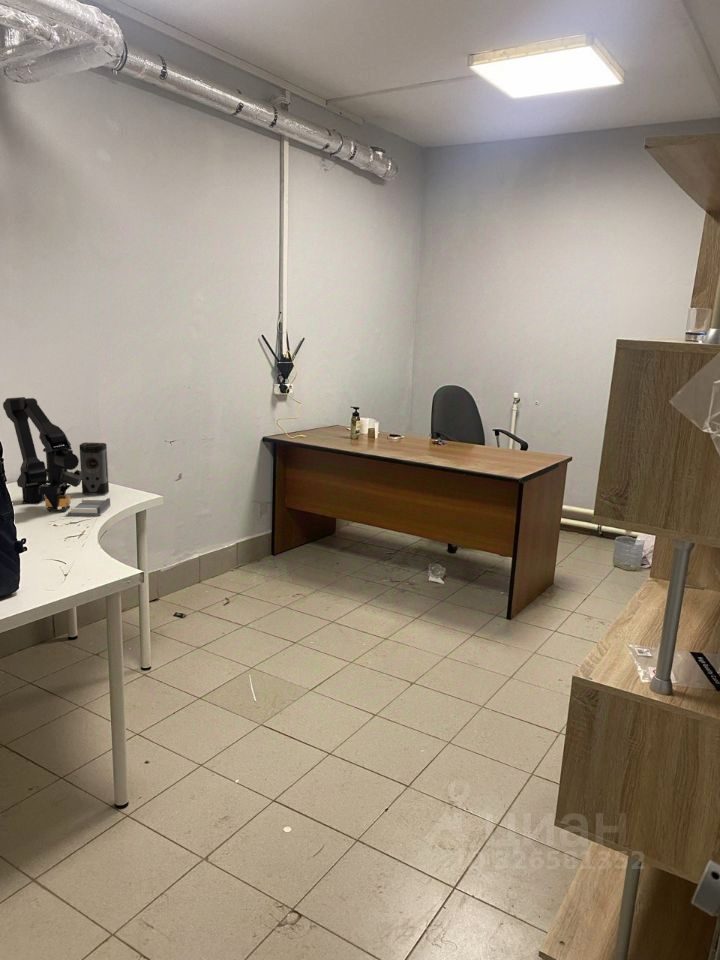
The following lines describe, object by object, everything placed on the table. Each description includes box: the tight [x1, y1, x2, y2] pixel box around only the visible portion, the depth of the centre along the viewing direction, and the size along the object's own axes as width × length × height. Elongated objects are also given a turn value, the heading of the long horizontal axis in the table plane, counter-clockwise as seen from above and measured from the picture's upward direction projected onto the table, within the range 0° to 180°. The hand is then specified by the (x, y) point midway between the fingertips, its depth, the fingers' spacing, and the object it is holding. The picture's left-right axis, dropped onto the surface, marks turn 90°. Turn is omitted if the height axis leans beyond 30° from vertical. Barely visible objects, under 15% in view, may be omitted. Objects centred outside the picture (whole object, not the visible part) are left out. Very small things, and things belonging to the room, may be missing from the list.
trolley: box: [44, 494, 72, 513], centre depth 247 cm, size 7×5×5 cm
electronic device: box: [79, 442, 110, 496], centre depth 269 cm, size 9×6×20 cm, turn 92°
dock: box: [67, 498, 111, 517], centre depth 248 cm, size 11×13×3 cm
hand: (58, 507), depth 247 cm, fingers closed on trolley, 5 cm apart
